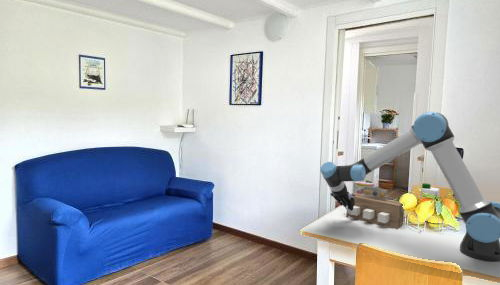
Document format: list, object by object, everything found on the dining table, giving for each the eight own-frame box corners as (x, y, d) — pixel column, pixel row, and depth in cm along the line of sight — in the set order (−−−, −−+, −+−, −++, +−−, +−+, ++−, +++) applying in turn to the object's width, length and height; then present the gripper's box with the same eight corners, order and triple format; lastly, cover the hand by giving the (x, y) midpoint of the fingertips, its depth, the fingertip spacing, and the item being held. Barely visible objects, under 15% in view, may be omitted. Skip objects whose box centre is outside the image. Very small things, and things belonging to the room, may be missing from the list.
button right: (385, 223, 176) (385, 215, 175) (377, 221, 178) (377, 213, 178) (390, 220, 180) (390, 213, 180) (382, 219, 183) (382, 211, 182)
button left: (356, 215, 187) (356, 208, 187) (349, 213, 190) (350, 206, 190) (361, 213, 192) (362, 206, 191) (354, 211, 194) (355, 204, 194)
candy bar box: (352, 209, 210) (353, 182, 208) (353, 207, 214) (354, 180, 213) (371, 212, 205) (373, 184, 204) (372, 210, 210) (374, 183, 208)
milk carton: (420, 217, 198) (423, 182, 196) (438, 220, 193) (441, 184, 191) (417, 220, 191) (420, 184, 189) (435, 224, 186) (438, 187, 184)
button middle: (369, 219, 181) (370, 212, 181) (362, 217, 184) (363, 210, 184) (375, 217, 185) (375, 209, 185) (367, 215, 188) (368, 208, 188)
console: (396, 229, 177) (399, 194, 175) (346, 216, 196) (348, 184, 194) (402, 225, 182) (405, 191, 181) (353, 213, 202) (355, 182, 200)
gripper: (323, 189, 177) (338, 215, 191) (346, 194, 168) (360, 221, 182) (329, 178, 180) (343, 204, 194) (352, 182, 171) (365, 209, 185)
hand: (351, 212), depth 188 cm, fingers closed
